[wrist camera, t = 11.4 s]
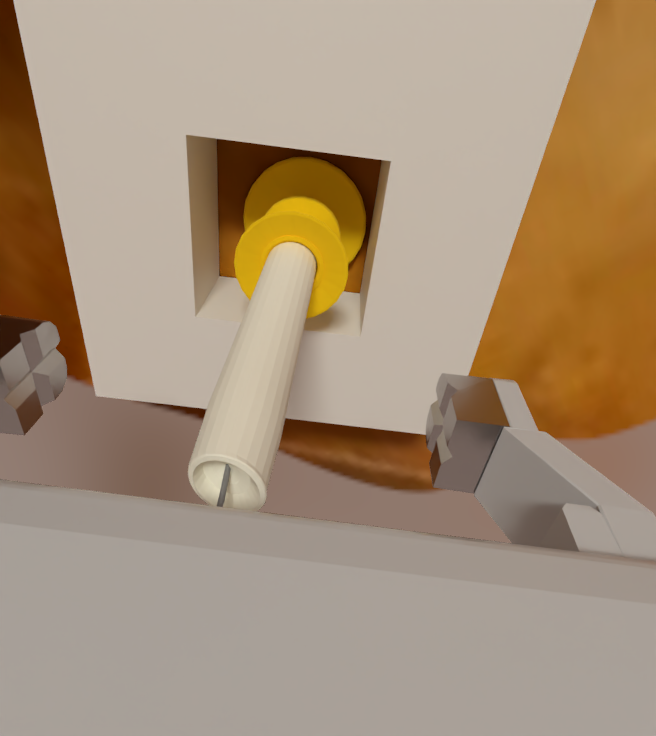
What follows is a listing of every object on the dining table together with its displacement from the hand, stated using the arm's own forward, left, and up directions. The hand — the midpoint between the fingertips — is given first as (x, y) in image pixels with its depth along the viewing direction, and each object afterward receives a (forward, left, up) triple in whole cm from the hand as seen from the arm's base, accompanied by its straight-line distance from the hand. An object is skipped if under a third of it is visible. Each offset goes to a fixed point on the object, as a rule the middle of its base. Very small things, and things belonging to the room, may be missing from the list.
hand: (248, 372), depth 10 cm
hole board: (0, 0, -12) cm, 12 cm away
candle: (0, +1, -12) cm, 12 cm away
